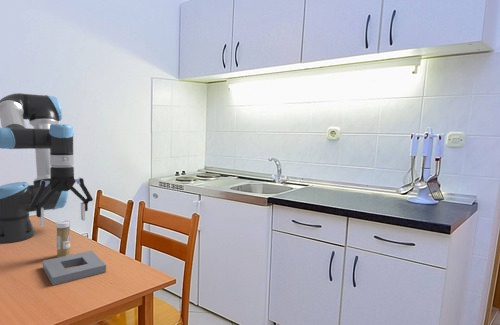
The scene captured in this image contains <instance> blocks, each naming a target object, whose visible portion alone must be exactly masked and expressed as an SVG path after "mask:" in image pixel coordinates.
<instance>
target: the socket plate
mask: <svg viewBox="0 0 500 325" xmlns="http://www.w3.org/2000/svg"><path fill="white" fill-rule="evenodd" d="M42 269H43V271H44V272H45V275H46V277H47V278H48V279H49V282H50V284H51V285H52V286H56V285H60V284H63V283H68V282H71V281H77V280H80V279H83V278H87V277H92V276H95V275H99V274H103V273H107V264H106V263H105V262H104V261H103V260H102V258H100V257H99V256H98V255H97V254H96V253H95V252H94V251H93V250H89V251H88V250H87V251H83V252H79V253H73V254H70V255H68V256H63V257H54V258H50V259H45V260H42Z"/></svg>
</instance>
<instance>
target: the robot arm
mask: <svg viewBox="0 0 500 325" xmlns="http://www.w3.org/2000/svg"><path fill="white" fill-rule="evenodd" d="M62 119H63V113H62V105H61V103H60V100H59V99H58V97H55V96H54V95H53V96H51V95H47V94H46V95H43V94H42V95H41V94H30V93H28V94H27V93H17V92H16V93H12V94H8V95H5V96H3V97H2V98H1V99H0V124H1V127H0V149H1V150H2V149H7V150H20V149H22V150H23V149H25V150H27V149H28V150H29V149H30V150H32V149H34V150H35V163H36V164H35V166H36V178H35V179H34V180H32V182H33V183H32V184H29V182H27V181H18V182H11V183H6V184H3V185H0V244H9V243H15V242H16V243H17V242H21V241H25V240H28V239H30V238H32V237H34V236H35V228H34V226H33V224H32V222H31V219H30V213H31V212H35V213H36V217H37V218H39V225H40V227H45V214H44V212H45V211H49V210H50V211H51V210H57V209H63V208H64V207H65V206H66V204H67V201H68V197H69V196H68V195H69V191H71V192H72V193H73V194H74V195H75V196H77V197H78V198H79V199H80V200H81V201H82V202H80V220H81V221H86V212H88V210H89V208H88V204H89V203H90V202H92V201H93V200H94V199H93V197H92V195H91V193H90V192H89V190H88V189H87V186H86V185H85V182H84V178H83V177H78V178H75V173H74V172H75V168H74V166H73V165H75V164H74V163H75V161H74V135H75V134H74V126H73V125H72V124H62V123H61V124H59V122H60V121H62ZM25 120H29V125H31V127H33V128H28V127H27V126H26V123H25ZM75 184H77V185H79V187H80V189H81V190H82V192H83V193H84V195H85V196H83V195H82V194H81V193H80V191H78V190H77V189H76V188H75V187H74V185H75ZM85 197H86V198H85Z"/></svg>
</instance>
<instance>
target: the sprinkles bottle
mask: <svg viewBox="0 0 500 325" xmlns="http://www.w3.org/2000/svg"><path fill="white" fill-rule="evenodd" d="M70 227H71V221H70V220H68V219H65V220H58V221H56V222H55V228H56V249H57V250H56V252H57V253H56V254H57V255H56V258H58V257H63V256H68V255H71V233H70V232H71V231H70V230H71V229H70Z"/></svg>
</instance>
